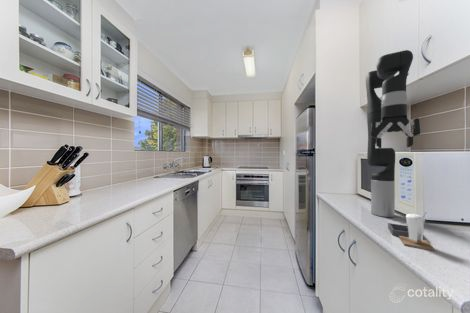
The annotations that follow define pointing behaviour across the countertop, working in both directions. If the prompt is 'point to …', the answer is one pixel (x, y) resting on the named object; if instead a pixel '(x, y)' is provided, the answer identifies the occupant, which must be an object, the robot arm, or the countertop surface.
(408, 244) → the pad
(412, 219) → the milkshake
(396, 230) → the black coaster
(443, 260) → the countertop surface
